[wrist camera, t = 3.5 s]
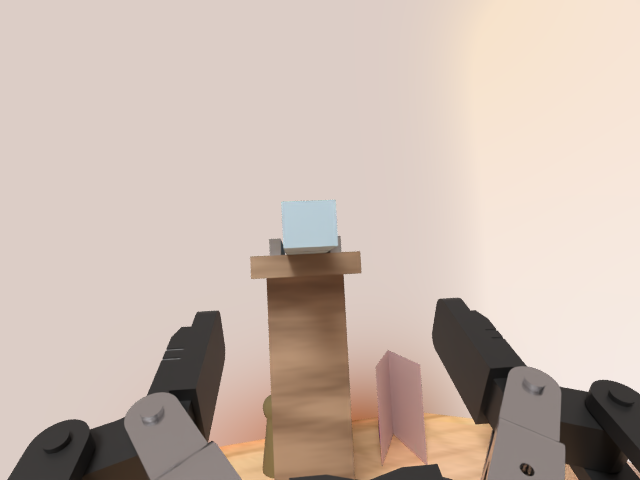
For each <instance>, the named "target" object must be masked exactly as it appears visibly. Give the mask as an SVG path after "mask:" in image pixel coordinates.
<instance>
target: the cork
mask: <svg viewBox="0 0 640 480" xmlns="http://www.w3.org/2000/svg"><path fill="white" fill-rule="evenodd" d="M263 411H264V415H265V417H266V418H267V426H266V437H265V449H264V461H263V473H264V474H265V475H266V476H268V477H270V478H275V476H274V451H273V426H272V400H271V395H270V396H268V397H267V398H266V399H265V401H264V404H263Z"/></svg>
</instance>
